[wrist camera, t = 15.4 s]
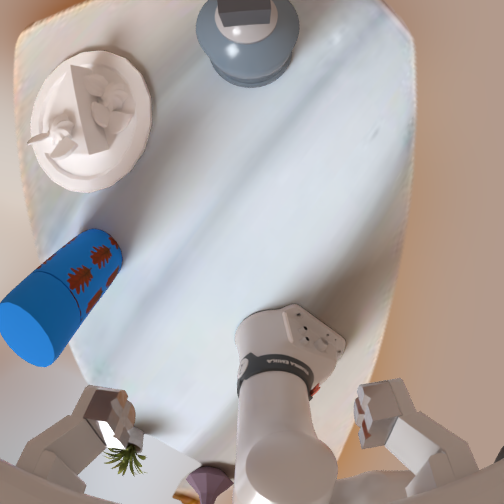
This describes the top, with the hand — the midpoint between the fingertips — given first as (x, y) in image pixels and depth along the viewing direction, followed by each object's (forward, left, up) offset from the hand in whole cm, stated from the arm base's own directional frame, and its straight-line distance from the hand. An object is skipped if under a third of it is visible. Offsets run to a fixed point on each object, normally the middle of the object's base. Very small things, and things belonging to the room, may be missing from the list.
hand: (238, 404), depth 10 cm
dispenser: (+10, -17, -41) cm, 46 cm away
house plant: (-4, +79, -41) cm, 89 cm away
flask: (-33, +91, -41) cm, 105 cm away
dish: (+30, +4, -42) cm, 51 cm away
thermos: (+19, +26, -41) cm, 52 cm away
